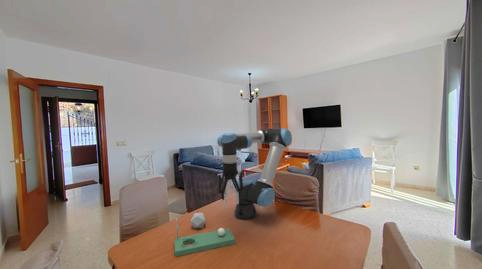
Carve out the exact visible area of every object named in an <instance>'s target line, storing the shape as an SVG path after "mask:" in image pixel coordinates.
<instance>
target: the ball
mask: <svg viewBox="0 0 482 269" xmlns="http://www.w3.org/2000/svg"><path fill="white" fill-rule="evenodd" d="M224 229H225V228H224V227H220V228H218V229H217V230H218V235H219V236H223V235H224V234H225V230H224Z"/></svg>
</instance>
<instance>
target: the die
mask: <svg viewBox="0 0 482 269" xmlns="http://www.w3.org/2000/svg"><path fill="white" fill-rule="evenodd" d="M206 221H207V219H206V217H205V214H204V212H194V213H193V215H192V217H191V219H190V223H191V225H192V227H193V229H203V228H204V225H205V223H206Z"/></svg>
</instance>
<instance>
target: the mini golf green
mask: <svg viewBox="0 0 482 269" xmlns="http://www.w3.org/2000/svg"><path fill="white" fill-rule="evenodd" d="M223 229H224V230H225V234H224V235H223V236H219V235H218V229H217V230H213V231H208V232H201V233H196V234H191V235H188V236H187V235H186V236H181V237H179V225H178V217H175V230H176V231H175V232H176V238H174V257H175V258H176V257H180V256H186V255H191V254H193V253H195V254H196V253H199V252H204V251H208V250H213V249H217V248H223V247H227V246H231V245H235V244H236V238H235V237H234V236H235V235H233V232H232V230H231V228H230V227H227V228H223Z"/></svg>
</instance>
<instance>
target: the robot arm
mask: <svg viewBox="0 0 482 269" xmlns="http://www.w3.org/2000/svg"><path fill="white" fill-rule="evenodd" d="M292 136H293V135H292V132H291V131H290V130H289V129H288V128H265V129H260V130H256V131H253V132H244V133H243V132H242V133H235V132H226V133H223V134H221V135H219V136H218V137H217V139H216V140H217V141H216V143H217V146H219V147H221V149H222V150H221V152H222V153H221V154H222V172H221V173H217V192H218V194H221V195H220V196H221V201H222V200H223V203H222V204H223V206H224V207H227V200H226V199H227V198H226V197H227V195H226V192H225V191H226V188H227V185H228V182H229V181H230V180H233V183H234V185H235V203H236V205H235V208H234V210H233V211H234V212H233V214H234V218H236V219H238V220H252V219H254V218H256V217H257V215H258V214H257V209H256V205H257V206H259V207H263V208H265V207H266V208H267V207H269V206H270V205H271V204H272V203H274V201H275V194H276V192H275V189H274V185H273V182H274V180H275V176H276V172H277V170H278V166H279V163H280V160H281V158H282V154H283V152H284V151H285V150H287V147H289V146H291V144H292V142H293V137H292ZM253 144H259V145H261V144H263V145H265V144H266V145H269V146H270V147H269V150H268V154H267V156H266V159H265V162H264V165H263V168H262V171H261V172H260V177H259V179H257V180H256V181H255V184H254V181H253V180H252V179H244V180H243V174H244V173H243V172H242V171H241V170H240V171H239V170H238V159H237V158H238V156H237V151H239V150H244V149H248V148H251V147H252V145H253ZM237 176H238V181H237ZM223 177H224V179H223V184H222V178H223Z"/></svg>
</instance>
